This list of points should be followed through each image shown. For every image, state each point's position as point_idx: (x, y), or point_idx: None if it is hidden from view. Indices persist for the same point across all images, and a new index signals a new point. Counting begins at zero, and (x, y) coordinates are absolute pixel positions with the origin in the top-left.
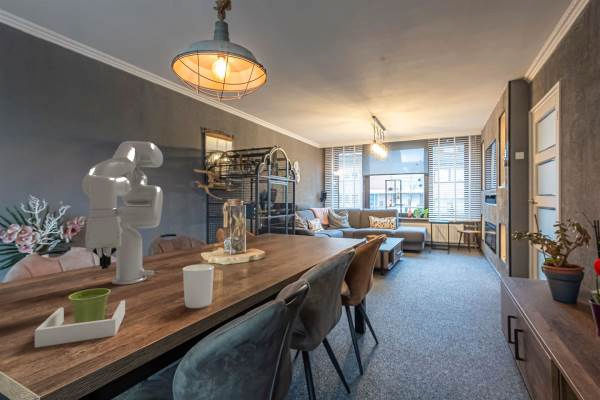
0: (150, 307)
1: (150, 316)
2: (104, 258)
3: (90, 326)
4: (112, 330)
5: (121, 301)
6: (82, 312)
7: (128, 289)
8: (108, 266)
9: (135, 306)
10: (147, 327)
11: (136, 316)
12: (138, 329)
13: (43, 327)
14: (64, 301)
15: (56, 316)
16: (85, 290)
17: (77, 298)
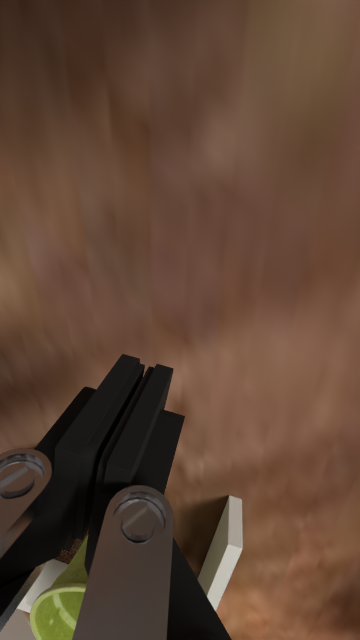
0: (340, 498)
1: (308, 569)
2: (91, 509)
3: None
4: None
5: (227, 551)
6: None
7: (345, 96)
8: (165, 402)
9: (293, 451)
10: (275, 625)
11: (269, 542)
12: (251, 620)
13: (27, 595)
14: (12, 167)
15: None
16: (76, 591)
17: (64, 573)
